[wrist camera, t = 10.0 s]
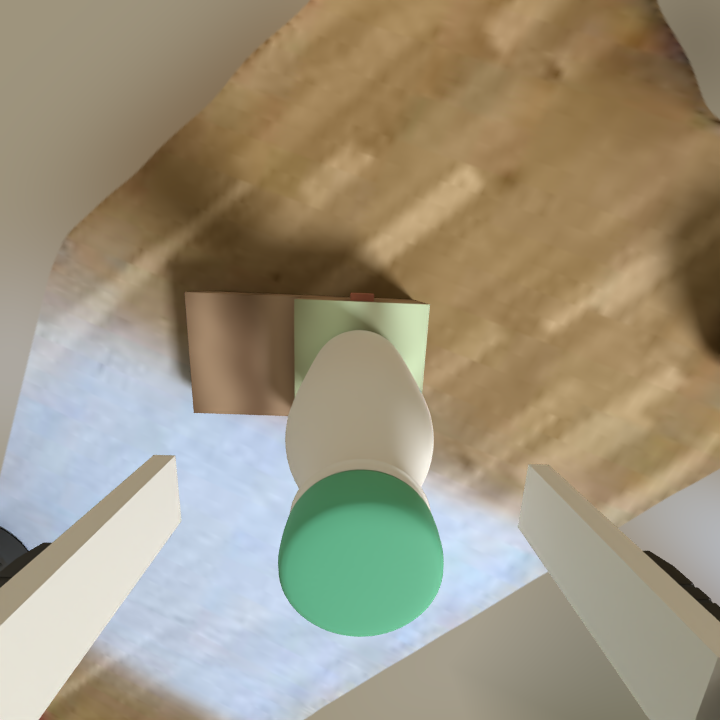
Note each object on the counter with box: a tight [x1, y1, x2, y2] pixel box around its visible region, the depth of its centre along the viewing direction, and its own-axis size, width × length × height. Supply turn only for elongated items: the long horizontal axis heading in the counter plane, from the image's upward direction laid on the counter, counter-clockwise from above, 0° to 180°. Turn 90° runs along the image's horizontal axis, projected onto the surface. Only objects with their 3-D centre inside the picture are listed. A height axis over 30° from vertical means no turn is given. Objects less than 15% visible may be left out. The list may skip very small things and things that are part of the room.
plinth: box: [184, 291, 430, 416], centre depth 32 cm, size 22×13×8 cm, turn 88°
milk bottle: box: [278, 330, 443, 637], centre depth 18 cm, size 8×8×20 cm
